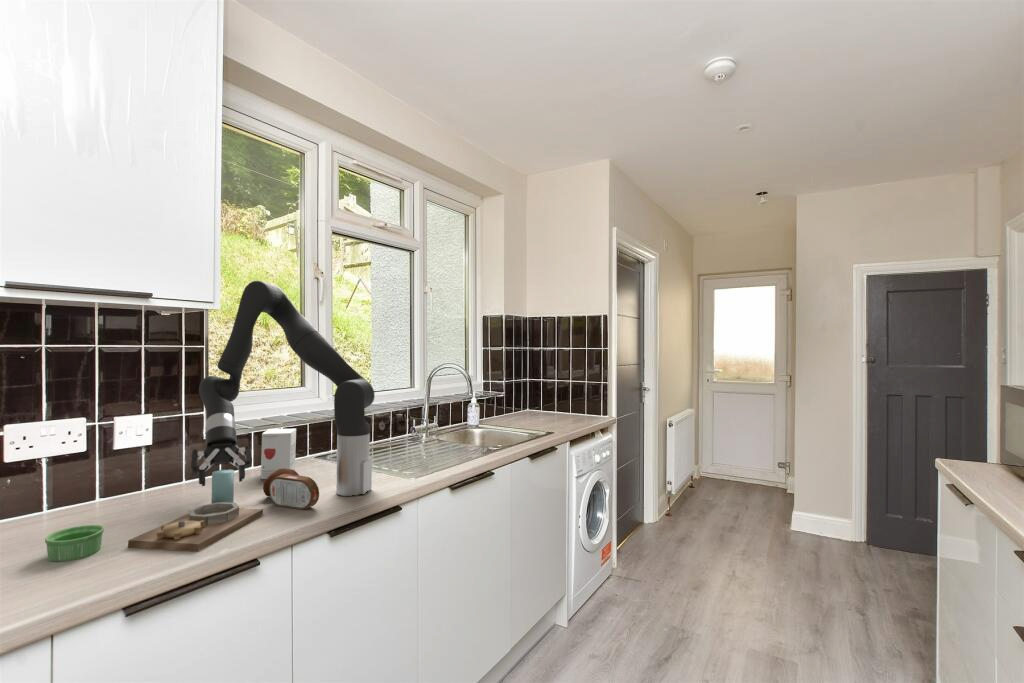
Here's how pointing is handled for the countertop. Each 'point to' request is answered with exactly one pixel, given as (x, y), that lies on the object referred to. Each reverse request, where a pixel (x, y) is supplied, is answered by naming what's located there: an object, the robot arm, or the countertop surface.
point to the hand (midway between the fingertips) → (222, 482)
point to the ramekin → (74, 542)
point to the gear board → (197, 528)
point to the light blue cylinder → (222, 486)
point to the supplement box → (277, 451)
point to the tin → (294, 491)
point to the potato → (275, 474)
